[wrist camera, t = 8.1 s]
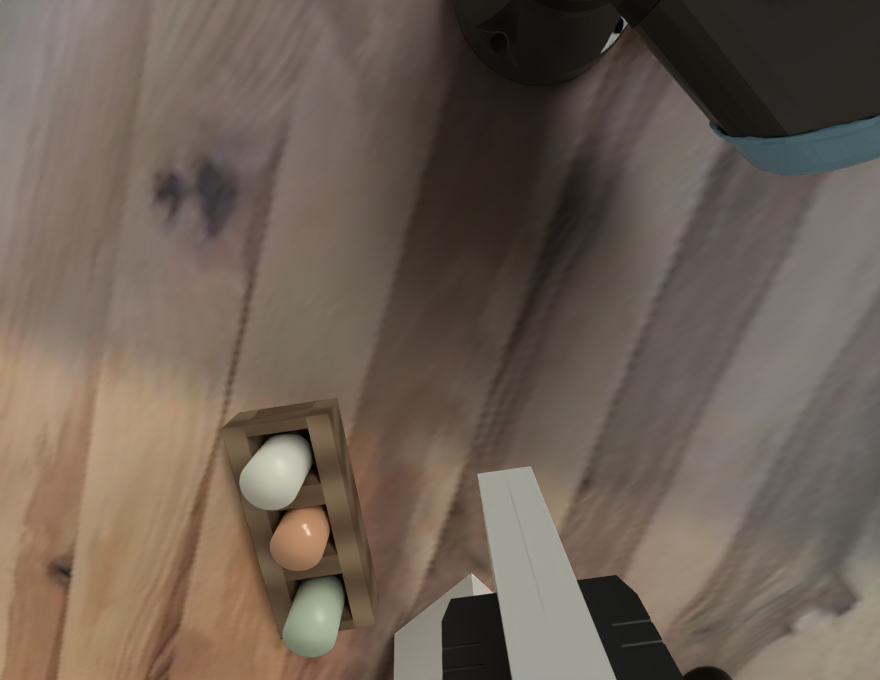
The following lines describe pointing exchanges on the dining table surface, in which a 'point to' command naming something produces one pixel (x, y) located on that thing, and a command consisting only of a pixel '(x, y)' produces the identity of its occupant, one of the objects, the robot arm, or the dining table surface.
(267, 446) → the off-white button
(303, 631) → the pale green domed cylinder
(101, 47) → the dining table surface
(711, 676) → the supplement bottle
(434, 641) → the milk
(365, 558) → the wooden compartment tray
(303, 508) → the peach rounded cylinder
